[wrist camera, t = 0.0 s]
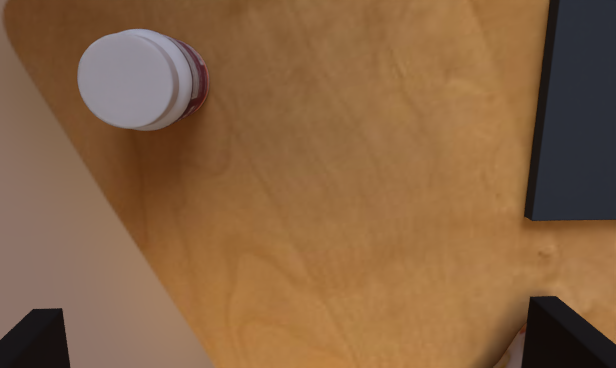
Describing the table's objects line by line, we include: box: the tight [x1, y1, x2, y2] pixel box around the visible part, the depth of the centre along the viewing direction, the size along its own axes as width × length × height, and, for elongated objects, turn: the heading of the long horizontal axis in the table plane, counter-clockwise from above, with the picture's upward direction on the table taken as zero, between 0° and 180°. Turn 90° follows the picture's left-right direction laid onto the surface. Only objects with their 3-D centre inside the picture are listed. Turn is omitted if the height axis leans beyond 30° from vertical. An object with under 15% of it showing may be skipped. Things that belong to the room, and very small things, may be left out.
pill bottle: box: [77, 29, 209, 131], centre depth 23 cm, size 5×5×8 cm
